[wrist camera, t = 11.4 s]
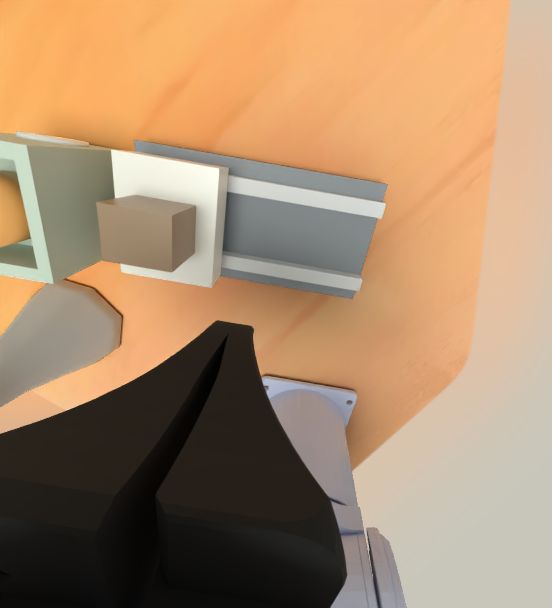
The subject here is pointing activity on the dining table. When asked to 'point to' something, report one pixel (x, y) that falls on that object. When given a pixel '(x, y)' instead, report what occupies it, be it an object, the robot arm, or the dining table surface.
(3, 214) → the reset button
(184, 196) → the carriage
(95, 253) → the cabinet
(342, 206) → the rail track
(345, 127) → the dining table surface
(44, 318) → the flask
